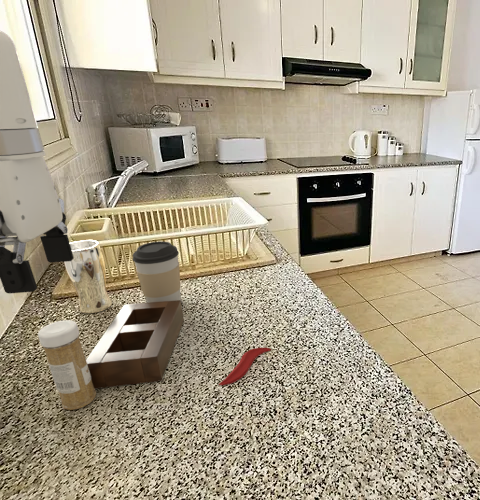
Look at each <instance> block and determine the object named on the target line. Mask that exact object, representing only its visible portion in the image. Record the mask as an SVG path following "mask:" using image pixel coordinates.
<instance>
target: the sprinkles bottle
mask: <svg viewBox="0 0 480 500" xmlns="http://www.w3.org/2000/svg"><path fill="white" fill-rule="evenodd" d="M37 337H38V340H39V344H40V345H41V346H42V348H43V349H44V354H45V356H46V359H47V364H48V367H49V370H50V373H51V376H52V380H53V382H54V385H55V388H56V391H57V392H58V395H59V397H60V400H61V407H62V408H63V410H69V411H72V410H78V409H82V408H83V407H86V406H88V405H90V404H91V403H92V402H93V401H94V400H95V399H96V396H97V391H96V389H94V386H93V383H92V380H91V375H90V371H89V368H88V365H87V362H86V359H87V358H86V355H85V353H84V350H83V346H82V344H81V340H80V330H79V326H78V323H77V322H76V321H75V320H71V319H65V320H64V319H63V320H58V321H54V322H51V323H49V324H47V325H45V326H43V327H42V328H41V329H39V331H38V332H37Z"/></svg>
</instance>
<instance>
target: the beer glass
mask: <svg viewBox="0 0 480 500" xmlns="http://www.w3.org/2000/svg"><path fill="white" fill-rule="evenodd" d="M69 243H70V246H71V250H72V253H73V257H74V259H73V260H72V261H67V262H63V263H64V268H65V270H66V274H67V276H68V277H69V280H70V281H71V284H72V285H73V288H74V289H75V291H76V293H77V296H78V299H79V300H78V301H79V311H80V313H83V314H86V315H87V314H90V315H91V314H97V313H100V312H103V311H106V310H107V309H109V308H110V307H111V306H112V304H113V302H112V299H111V298H110V296H109V293H108V290H107V282H106V281H107V280H106V279H107V277H106V275H107V274H106V263H105V259H104V255H103V252H102V249H101V246H100V243H99V241H97V240H93V239H86V240H84V239H83V240H77V241H73V242H69Z"/></svg>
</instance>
